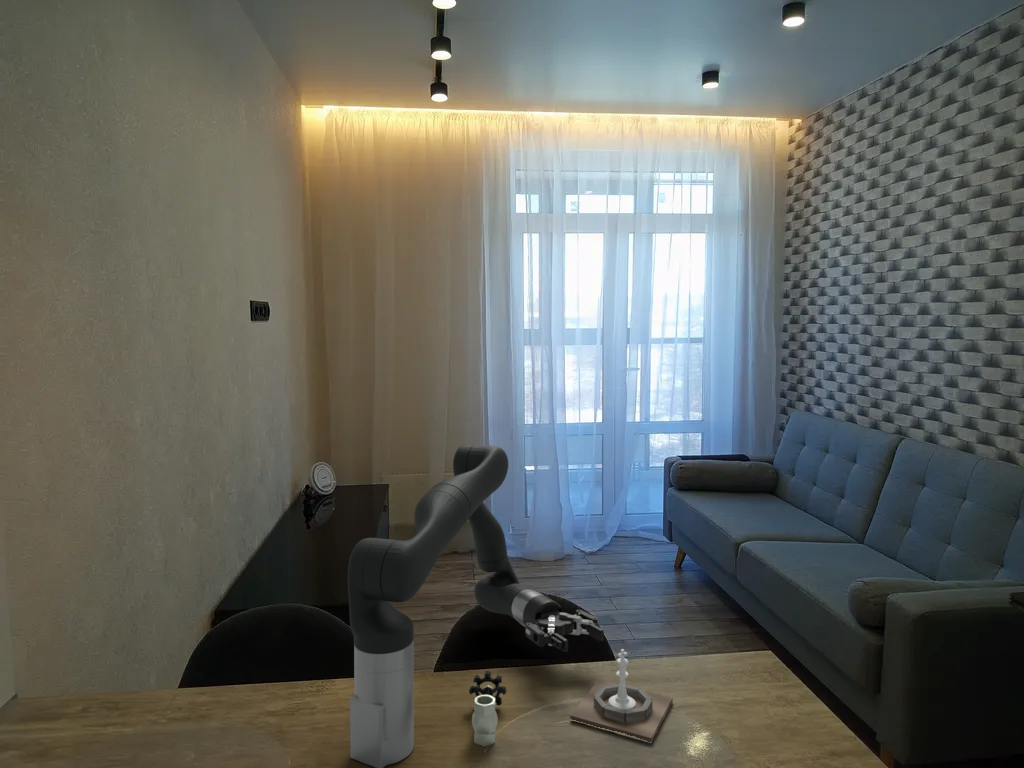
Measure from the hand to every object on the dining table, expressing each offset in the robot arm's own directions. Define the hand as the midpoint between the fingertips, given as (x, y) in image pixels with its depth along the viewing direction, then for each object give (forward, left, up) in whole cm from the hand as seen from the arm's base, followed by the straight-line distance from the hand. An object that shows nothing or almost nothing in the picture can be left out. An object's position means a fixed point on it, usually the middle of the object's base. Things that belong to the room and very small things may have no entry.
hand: (584, 641), depth 120 cm
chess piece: (-5, -9, -8) cm, 13 cm away
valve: (-20, +10, -9) cm, 24 cm away
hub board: (-5, -9, -8) cm, 14 cm away
